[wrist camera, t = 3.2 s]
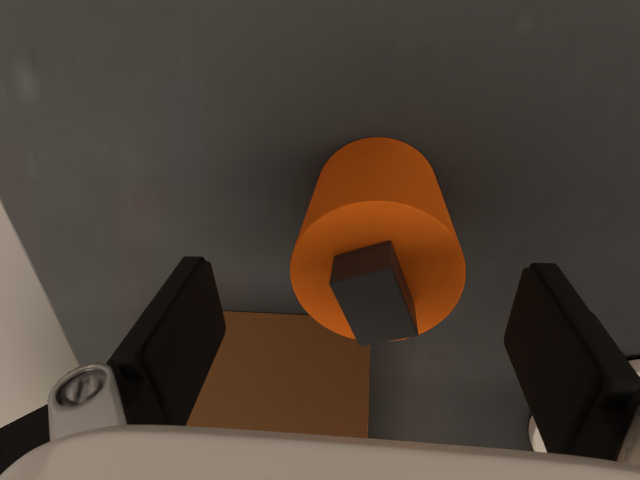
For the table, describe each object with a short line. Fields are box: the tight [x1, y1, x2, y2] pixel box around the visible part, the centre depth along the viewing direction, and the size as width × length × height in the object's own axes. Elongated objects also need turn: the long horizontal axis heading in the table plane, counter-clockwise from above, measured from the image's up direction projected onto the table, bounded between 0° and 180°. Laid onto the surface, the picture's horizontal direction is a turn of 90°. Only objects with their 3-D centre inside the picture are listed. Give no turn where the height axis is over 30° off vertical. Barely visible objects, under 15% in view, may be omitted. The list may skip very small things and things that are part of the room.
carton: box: [186, 311, 370, 438], centre depth 23 cm, size 14×14×10 cm
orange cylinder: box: [290, 137, 466, 347], centre depth 15 cm, size 6×6×9 cm
